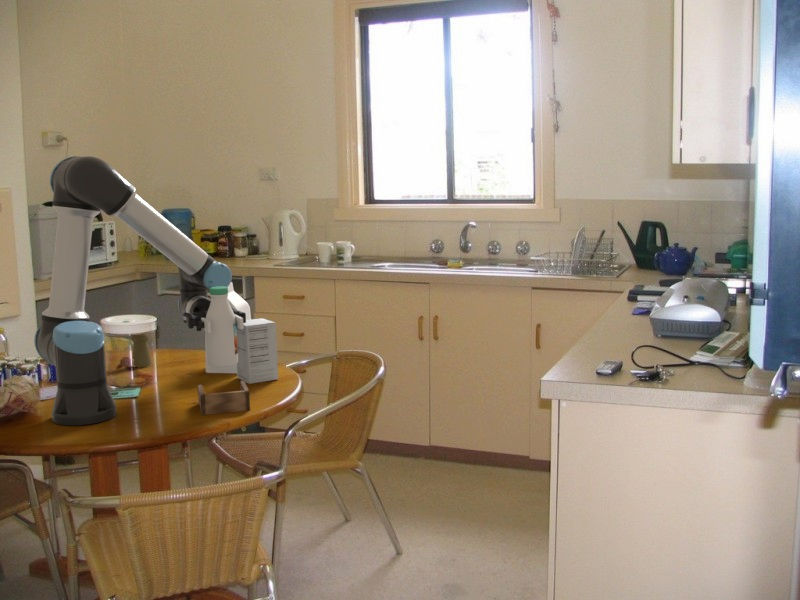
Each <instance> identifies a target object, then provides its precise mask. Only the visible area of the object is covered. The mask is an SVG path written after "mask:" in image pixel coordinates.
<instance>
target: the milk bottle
mask: <svg viewBox="0 0 800 600" xmlns="http://www.w3.org/2000/svg"><path fill="white" fill-rule="evenodd" d="M209 297H210V300H211V303H210V307H209V309H208V312H207V315H206V319H207V320H208V321H210V322H211V333H208V332H206V345H207V361H208V365H209V366H211V367H229V366H233V365H236V364H237V363H238V346H237V330H236V319H235V315H234V312H233V310H232V308H231V306H230V304H229V301H228V287H225V286H217V287H211V288H210V290H209Z"/></svg>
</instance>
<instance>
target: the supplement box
mask: <svg viewBox="0 0 800 600" xmlns="http://www.w3.org/2000/svg"><path fill="white" fill-rule="evenodd" d="M243 327H244V329H240V328H238V327H236V330H237V346H238V363H237V373H236V375H237V376H236V378H237V379H239V380H240V381H245V383H246V384H249V385H251V384H257V383H263V382H270V381H275V380H276V381H277V380H279V369H278V368H279V367H278V365H279V363H278V349H277V348H278V345H277V343H278V342H277V323H276V322H275V321H272V320H268V319H266V318H263V317H262V318H261V317H259V318H253V319H252V318H251V320H246V323H243Z"/></svg>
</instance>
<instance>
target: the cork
mask: <svg viewBox="0 0 800 600" xmlns="http://www.w3.org/2000/svg"><path fill="white" fill-rule="evenodd" d="M149 336H150V334H149V333H148V334H141V335H132V334H131V336H130V338H131V341H132V342H133V346H132V358H133V359H134V365H135V367H146V368H148V367H147V366H150V365H151V364H152V365H153V363H152V358H151V353H150V347H149V343H148V341H149V339H150V337H149ZM150 367H151V366H150Z"/></svg>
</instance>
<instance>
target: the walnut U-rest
mask: <svg viewBox="0 0 800 600" xmlns="http://www.w3.org/2000/svg"><path fill="white" fill-rule="evenodd" d="M197 393H198V394H197V395H198V405H199V410H200V413H201V414H200V415H201V416H205V415H216V414H225V413H236V412H238V413H239V412H247V411H251V402H250V399H251V398H250V390H249V388H248V385H247V382H245V381H243V380H240V390H235V391H226V392H215V393H205V391H204V388H203V385H202V384H197Z"/></svg>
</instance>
